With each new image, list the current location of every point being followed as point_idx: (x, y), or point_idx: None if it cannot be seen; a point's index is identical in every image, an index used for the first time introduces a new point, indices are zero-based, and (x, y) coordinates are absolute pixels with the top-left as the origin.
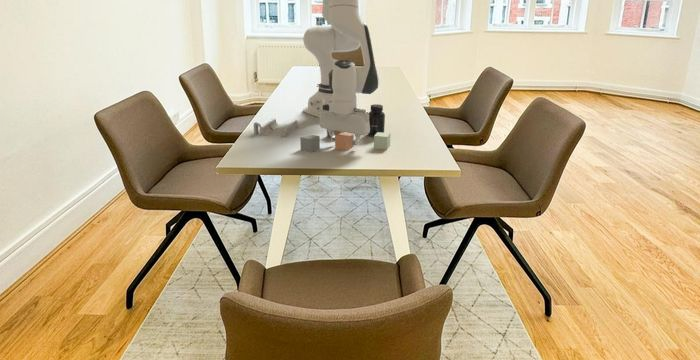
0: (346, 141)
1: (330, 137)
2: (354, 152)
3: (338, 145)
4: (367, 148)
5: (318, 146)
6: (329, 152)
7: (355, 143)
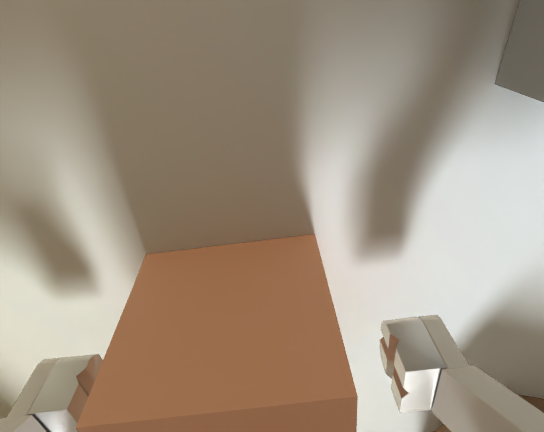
0: (106, 357)
1: (528, 399)
2: (17, 259)
3: (264, 270)
4: None
5: (538, 59)
6: (256, 40)
7: (27, 384)
